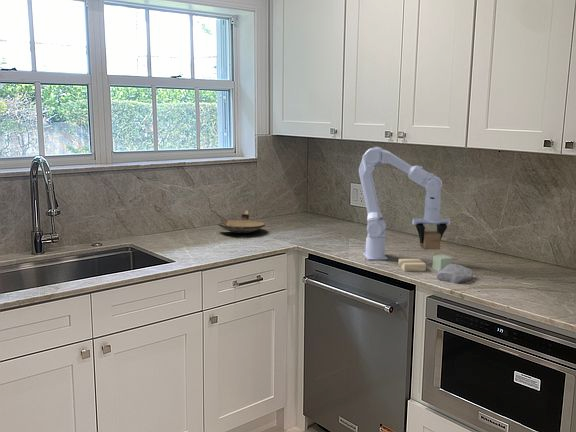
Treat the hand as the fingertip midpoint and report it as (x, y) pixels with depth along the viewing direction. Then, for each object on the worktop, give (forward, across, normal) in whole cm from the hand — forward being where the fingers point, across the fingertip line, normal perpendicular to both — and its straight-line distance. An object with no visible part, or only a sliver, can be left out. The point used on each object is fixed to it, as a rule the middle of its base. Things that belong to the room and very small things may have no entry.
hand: (429, 242), depth 220 cm
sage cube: (+8, +2, -9) cm, 12 cm away
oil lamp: (+9, -71, +60) cm, 93 cm away
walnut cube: (+2, 0, 0) cm, 2 cm away
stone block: (+9, +3, -21) cm, 23 cm away
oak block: (+9, -9, -7) cm, 14 cm away
